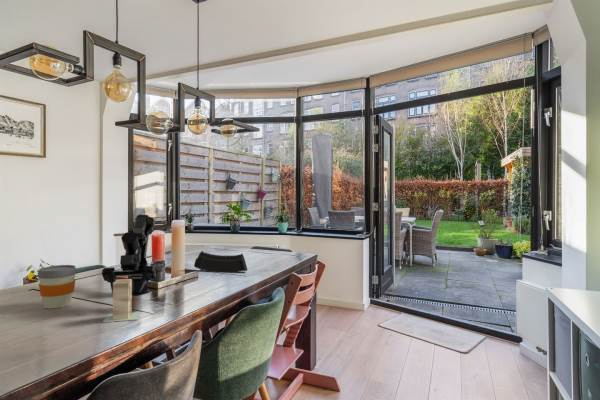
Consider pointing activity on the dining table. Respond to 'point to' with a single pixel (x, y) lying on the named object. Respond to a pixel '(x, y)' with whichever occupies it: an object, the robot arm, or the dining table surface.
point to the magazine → (220, 263)
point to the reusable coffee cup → (57, 285)
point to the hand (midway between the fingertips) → (126, 292)
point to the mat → (132, 317)
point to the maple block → (122, 299)
